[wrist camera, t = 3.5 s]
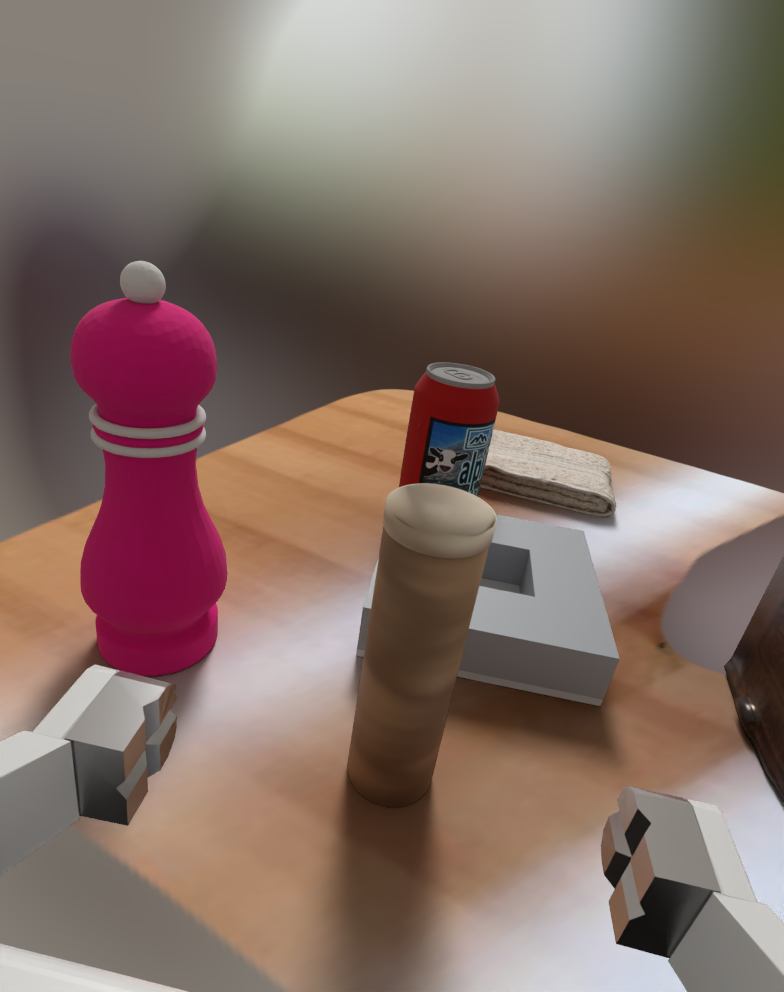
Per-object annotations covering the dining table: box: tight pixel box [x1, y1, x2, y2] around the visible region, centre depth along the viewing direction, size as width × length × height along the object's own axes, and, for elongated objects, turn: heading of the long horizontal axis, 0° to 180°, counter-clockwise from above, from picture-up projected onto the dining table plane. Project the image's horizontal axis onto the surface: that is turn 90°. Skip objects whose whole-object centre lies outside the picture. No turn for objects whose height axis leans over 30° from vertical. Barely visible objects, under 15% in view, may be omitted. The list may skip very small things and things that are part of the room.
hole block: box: [356, 515, 619, 706], centre depth 40 cm, size 14×14×4 cm
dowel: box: [347, 483, 497, 807], centre depth 26 cm, size 4×4×14 cm
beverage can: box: [399, 363, 499, 497], centre depth 50 cm, size 7×7×12 cm
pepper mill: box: [71, 261, 227, 676], centre depth 30 cm, size 7×7×20 cm
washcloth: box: [480, 429, 616, 517], centre depth 62 cm, size 12×18×3 cm, turn 74°
